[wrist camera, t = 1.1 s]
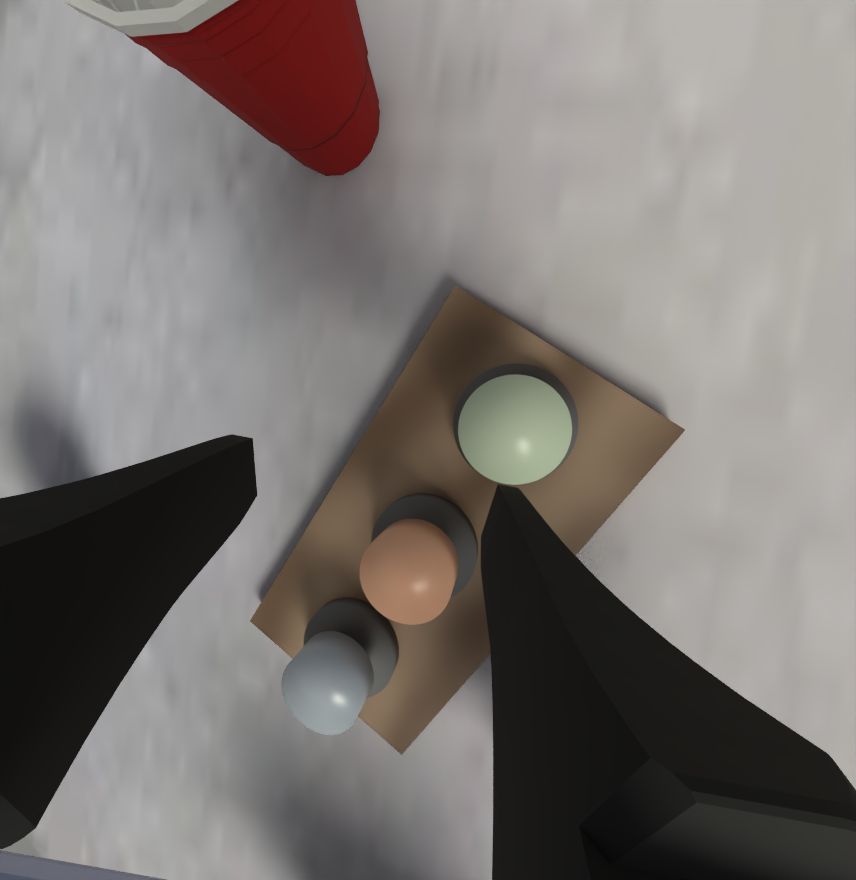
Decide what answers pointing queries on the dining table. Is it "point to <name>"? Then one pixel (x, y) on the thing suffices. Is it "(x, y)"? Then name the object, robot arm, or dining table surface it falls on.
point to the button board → (451, 506)
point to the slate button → (328, 683)
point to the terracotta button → (409, 571)
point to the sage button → (515, 429)
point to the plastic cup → (267, 67)
